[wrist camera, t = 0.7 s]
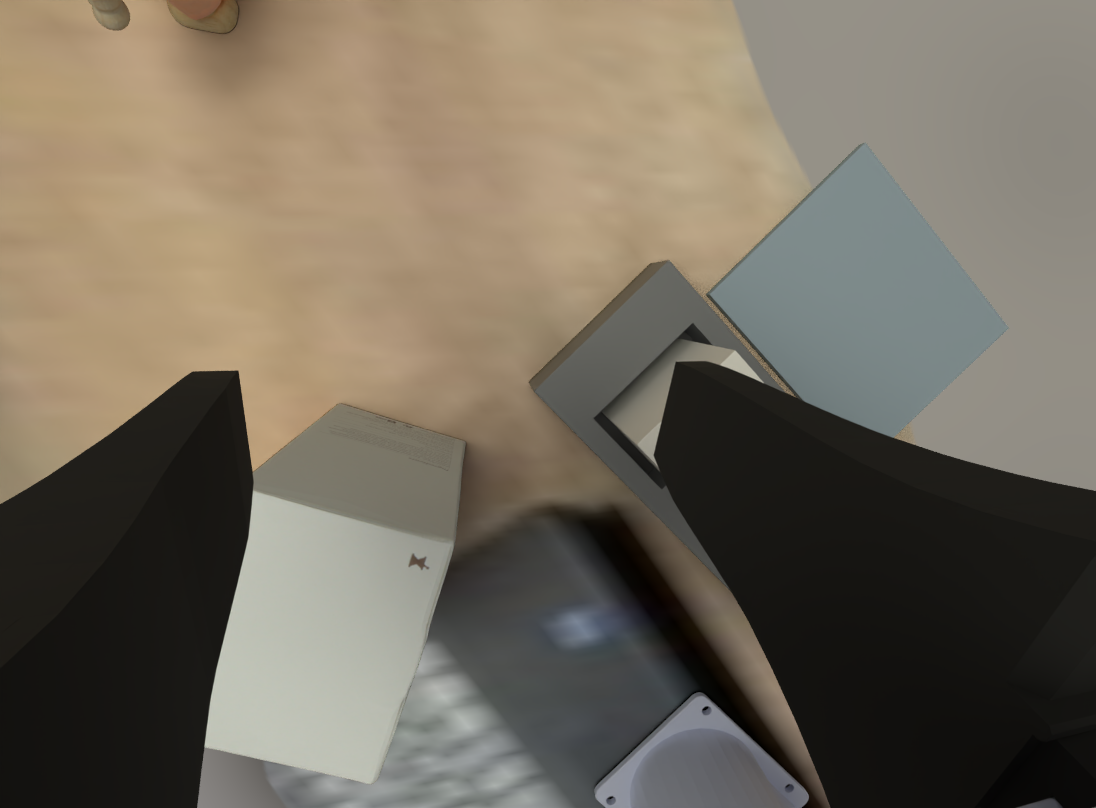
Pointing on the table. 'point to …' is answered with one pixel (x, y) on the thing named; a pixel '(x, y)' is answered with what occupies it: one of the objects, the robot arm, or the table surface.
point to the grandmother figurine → (174, 14)
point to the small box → (336, 593)
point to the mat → (859, 301)
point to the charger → (662, 392)
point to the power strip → (634, 377)
